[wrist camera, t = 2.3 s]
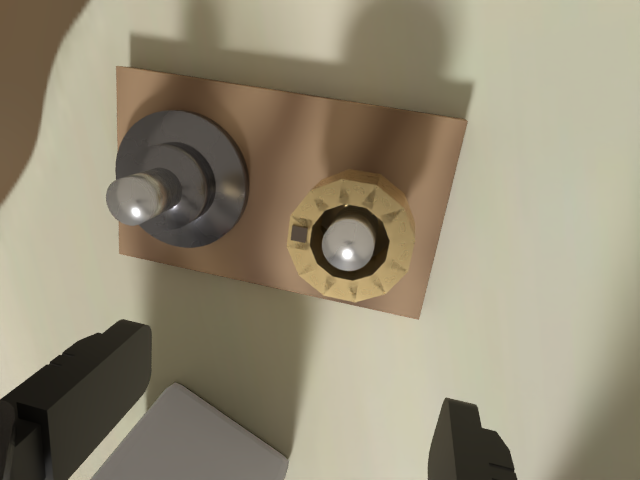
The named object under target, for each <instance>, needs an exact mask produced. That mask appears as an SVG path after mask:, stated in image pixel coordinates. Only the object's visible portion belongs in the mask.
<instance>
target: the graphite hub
mask: <svg viewBox="0 0 640 480" xmlns="http://www.w3.org/2000/svg"><path fill="white" fill-rule="evenodd" d="M249 185H250V183H249V173H248V169H247V165H246V162H245V159H244V156H243V154H242V152H241V150H240V148H239V147H238V145H237V144H236V142H235V141H234V139H233V138H232V137H231V136H230V134H229V133H228V132H227V131H226V130H225V129H224V128H223V127H221V126H220V125H219V124H218V123H216V122H215V121H213V120H212V119H210V118H208V117H206V116H204V115H201V114H199V113H196V112H192V111H187V110H168V111H160V112H156V113H153V114H150V115H147V116H145V117H144V118H142V119H140V120H139V121H138V122H136V123H135V124H134V125H133V126H132V127H131V128H130V129H129V130H128V132H127V133H126V135H125V136H124V138H123V140H122V142H121V144H120V146H119V150H118V153H117V158H116V180H115V181H114V182H112V183H111V184H110V186H109V188H108V190H107V194H106V201H107V205H108V208H109V210H110V212H111V214H112V215H113V216H114V217H115V218H116V219H117V220H118V221H120V222H121V223H123V224H126V225H130V226H135V225H139V226H140V227H141V228H142V229H144V230H145V231H146V232H147V233H148V234H150V235H151V236H153V237H154V238H156V239H158V240H160V241H162V242H164V243H167V244H169V245H173V246H176V247H183V248H195V247H201V246H205V245H208V244H211V243H213V242H215V241H217V240H218V239H220V238H221V237H223V236H224V235H225V234H227V233H228V232H229V231H230V230H231V229H233V228H234V226H235V225H236V224H237V223H238V222H239V220H240V218H241V217H242V215H243V213H244V211H245V209H246V205H247V202H248V197H249Z"/></svg>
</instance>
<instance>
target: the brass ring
mask: <svg viewBox="0 0 640 480" xmlns="http://www.w3.org/2000/svg"><path fill="white" fill-rule="evenodd" d="M343 204H348V205H353V206H359V207H364V208H367V209H368V210H369V211H370V212H372V213H373V214H374V215H375V216H376V217H378V218H379V219H380V220H381V221H382V222H383V224H384V227H385V229H386V232H387V235H388V238H389V243H388V244H387V245H386V246H385V247H384V248H383V249H382V250H381V251H380V252H379V253H378V254H377V255H376V256H373V257H371V259H370V261H369V262H368V263H367V264H366V265H365V266H363V267H362V268H360V269H357V270H353V271H345V270H341V269H338V268H336V267H334V266H333V265H331V264H330V263H329V262H328V260H327V259H326V258H325V256H324V254H323V250H322V240H323V237H324V236H323V233H322V231H321V223H322V216H323V212H324V211H325V210H328V209H331V208H334V207H337V206H340V205H343ZM414 243H415V221H414V218H413V215H412V213H411V210H410V207H409V204H408V201H407V198H406V195H405V194H404V193H403V192H402V191H400V190H399V189H398V188H397V187H396V186H394V185H393V184H392V183H391V182H390V181H389V180H387V179H386V178H385V177H384V176H383V175H381V174H376V173H371V172H365V171H359V170H354V169H349V170H346V171H343V172H340V173H338V174H335V175H332V176H330V177H327V178H324V179H322V180H321V181H320V182H319V183H318V184H317V185H316V186H315V187H314V188H312V189H311V190H310V192H309V193H308V194H307V195H306V197H305V198H304V199H303V200H302V202H301V203H300V204H299V205H298V207H297V208H296V209H295V210H294V212H293V213H292V214H291V215H290V222H289V231H288V239H287V249H288V251H289V254H290V256H291V258H292V261H293V263H294V265H295V268H296V270H297V272H298V275H299V276H300V277H301V278H303V279H304V280H305V281H306V282H308V283H309V284H310V285H311V286H312V287H314V288H315V289H316V290H317V291H319V292H320V293H321V294H322V295H324V296H328V297H332V298H337V299H342V300H346V301H351V302H358V301H362V300H366V299H369V298H373V297H377V296H380V295H384V294H386V293H387V292H388V291H389V290H390V289H391V288H392V287H393V286H394V285H395V284H396V283H397V282H398V281H399V280H400V279H401V278H402V277H403V276H404V275H405V274H406V273H407V272H408V270H409V265H410V261H411V257H412V252H413V248H414Z"/></svg>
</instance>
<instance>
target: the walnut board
mask: <svg viewBox="0 0 640 480" xmlns="http://www.w3.org/2000/svg"><path fill="white" fill-rule="evenodd" d="M116 80H117V141H118V150H119V146H120V144H121V142H122V140H123V138H124V136H125V135H126V133H127V132H128V130H129V129H130V128H131V127H132V126H133V125H134V124H135V123H136V122H138V121H139V120H140V119H142V118H144V117H145V116H147V115H150V114H153V113H156V112H160V111H168V110H187V111H192V112H196V113H199V114H201V115H204V116H206V117H208V118H210V119H212V120H213V121H215V122H216V123H218V124H219V125H220V126H221V127H223V128H224V129H225V130H226V131H227V132H228V133H229V134H230V136H231V137H232V138H233V139H234V141H235V142H236V144H237V145H238V147H239V148H240V150H241V152H242V154H243V156H244V159H245V162H246V165H247V169H248V173H249V183H250V185H249V197H248V202H247V205H246V209H245V211H244V213H243V215H242V217H241V218H240V220H239V222H238V223H237V224H236V225H235V226H234V228H233V229H231V230H230V231H229V232H228V233H227V234H225V235H224V236H223V237H221V238H220V239H218V240H217V241H215V242H213V243H211V244H208V245H205V246H201V247H195V248H183V247H176V246H173V245H169V244H167V243H164V242H162V241H160V240H158V239H156V238H154V237H153V236H151V235H150V234H148V233H147V232H146V231H145V230H144V229H142V228H141V227H140V226H139V225H135V226H130V225H126V224H123V223H121V222H120V221H119V254H123V255H127V256H132V257H136V258H141V259H145V260H150V261H154V262H159V263H164V264H168V265H173V266H177V267H182V268H186V269H191V270H195V271H200V272H205V273H209V274H214V275H218V276H223V277H227V278H232V279H236V280H241V281H246V282H250V283H255V284H259V285H264V286H268V287H273V288H277V289H282V290H286V291H291V292H296V293H300V294H305V295H309V296H314V297H318V298H323V299H327V300H332V301H337V302H341V303H346V304H350V305H355V306H359V307H364V308H368V309H373V310H378V311H382V312H387V313H391V314H396V315H400V316H405V317H409V318H414V319H418V320H419V317H420V313H421V309H422V305H423V301H424V296H425V292H426V288H427V284H428V280H429V276H430V272H431V268H432V264H433V260H434V256H435V252H436V248H437V244H438V240H439V236H440V231H441V227H442V223H443V219H444V215H445V211H446V207H447V203H448V199H449V195H450V191H451V187H452V183H453V179H454V175H455V170H456V166H457V162H458V158H459V154H460V150H461V146H462V142H463V138H464V134H465V130H466V126H467V122H468V121H467V120H465V119H460V118H454V117H447V116H441V115H434V114H428V113H422V112H415V111H409V110H402V109H396V108H389V107H383V106H377V105H370V104H364V103H357V102H351V101H344V100H338V99H332V98H325V97H319V96H312V95H306V94H300V93H293V92H287V91H280V90H274V89H267V88H261V87H255V86H248V85H242V84H235V83H229V82H222V81H216V80H210V79H203V78H197V77H190V76H184V75H177V74H171V73H165V72H158V71H152V70H145V69H139V68H132V67H122V66H116ZM349 169H354V170H359V171H365V172H371V173H376V174H381V175H383V176H384V177H385V178H386V179H387V180H389V181H390V182H391V183H392V184H393V185H394V186H396V187H397V188H398V189H399V190H400V191H402V192H403V193H404V194H405V195H406V198H407V201H408V204H409V207H410V210H411V213H412V215H413V218H414V221H415V243H414V248H413V252H412V257H411V261H410V265H409V270H408V272H407V273H406V274H405V275H404V276H403V277H402V278H401V279H400V280H399V281H398V282H397V283H396V284H395V285H394V286H393V287H392V288H391V289H390V290H389V291H388V292H387V293H386V294H384V295H380V296H377V297H373V298H369V299H366V300H362V301H358V302H351V301H346V300H342V299H337V298H332V297H328V296H324V295H322V294H321V293H320V292H319V291H317V290H316V289H315V288H314V287H312V286H311V285H310V284H309V283H308V282H306V281H305V280H304V279H303V278H301V277H300V276H299V275H298V272H297V270H296V268H295V265H294V263H293V261H292V258H291V256H290V254H289V251H288V249H287V239H288V231H289V222H290V215H291V214H292V213H293V212H294V210H295V209H296V208H297V207H298V205H299V204H300V203H301V202H302V200H303V199H304V198H305V197H306V195H307V194H308V193H309V192H310V190H311V189H312V188H314V187H315V186H316V185H317V184H318V183H319V182H320V181H321V180H322V179H324V178H327V177H330V176H332V175H335V174H338V173H340V172H343V171H346V170H349Z"/></svg>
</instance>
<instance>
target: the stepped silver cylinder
mask: <svg viewBox="0 0 640 480" xmlns="http://www.w3.org/2000/svg"><path fill="white" fill-rule="evenodd" d="M321 231H322V233H323V236H324V237H323V240H322V250H323V254H324V256H325V258H326V259H327V260H328V262H329V263H330V264H331V265H333V266H334V267H336V268H338V269H341V270H345V271H353V270H357V269H360V268H362V267H363V266H365V265H366V264H367V263H368V262H369V261H370V259H371V257H373V256H376V255H377V254H378V253H379V252H380V251H381V250H382V249H383V248H384V247H385V246H386V245H387V244H388V243H389V238H388V235H387V232H386V229H385V227H384V224H383V222H382V221H381V220H380V219H379V218H378V217H376V216H375V215H374V214H373V213H372V212H370V211H369V210H368V209H367V208H364V207H359V206H353V205H348V204H343V205H340V206H337V207H334V208H331V209H328V210H325V211H324V212H323V216H322V223H321Z"/></svg>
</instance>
